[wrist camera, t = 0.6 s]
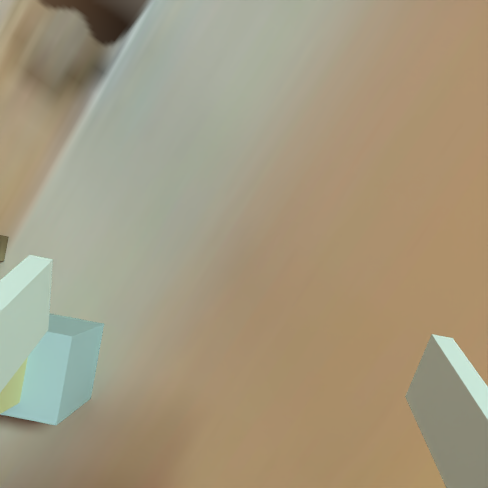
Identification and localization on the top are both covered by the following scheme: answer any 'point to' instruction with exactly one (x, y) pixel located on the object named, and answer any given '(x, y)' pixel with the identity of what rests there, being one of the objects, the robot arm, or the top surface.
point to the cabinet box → (55, 372)
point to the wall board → (3, 246)
